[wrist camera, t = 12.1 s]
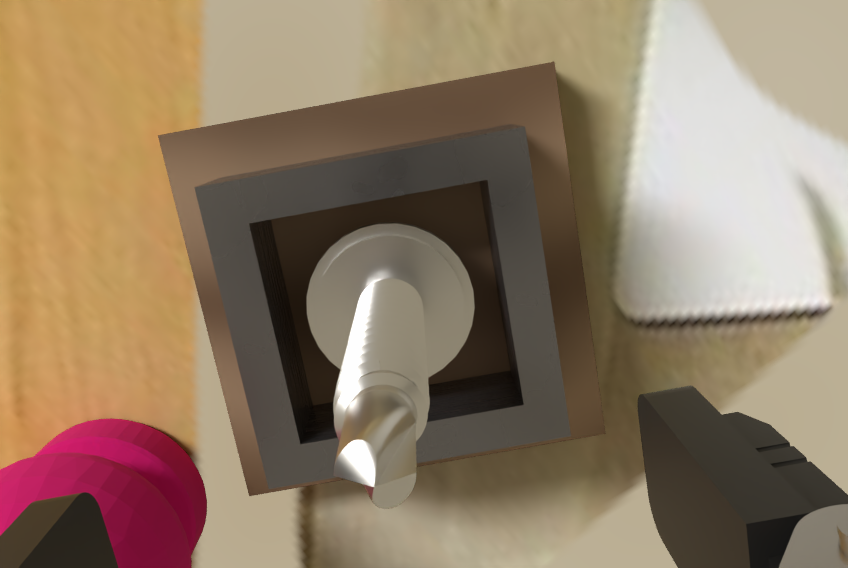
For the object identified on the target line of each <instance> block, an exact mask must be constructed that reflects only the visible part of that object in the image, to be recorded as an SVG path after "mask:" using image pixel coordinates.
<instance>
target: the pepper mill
mask: <svg viewBox="0 0 848 568" xmlns="http://www.w3.org/2000/svg"><path fill="white" fill-rule="evenodd" d="M83 492H87V493H90V494H91V495H92V496H93V497H94V498H95V499H96V501H97V502H98V504H99V507H100V510H101V513H102V516H103V519H104V522H105V526H106V529H107V532H108V535H109V539H110V542H111V545H112V548H113V551H114V555H115V558H116V561H117V564H118V568H191V555H192V552H193V550H194V548H195V546H196V544H197V542H198V540H199V538H200V536H201V533H202V531H203V528H204V524H205V519H206V514H207V513H206V512H207V499H206V493H205V487H204V484H203V480H202V478H201V476H200V474H199V471H198V469H197V468H196V466H195V464H194V463H193V461H192V460H191V458H190V457H189V456H188V454H187V453H186V452H185V451H184V450H183V449H182V448H181V447H180V446H179V445H178V444H177V443H176V442H174V441H173V440H172V439H171V438H169V437H168V436H167V435H165V434H163V433H162V432H160V431H158V430H156V429H154V428H151V427H149V426H147V425H144V424H141V423H137V422H133V421H129V420H123V419H98V420H92V421H87V422H84V423H81V424H78V425H75V426H73V427H71V428H69V429H67V430H66V431H64V432H62V433H61V434H59V435H57V436H56V437H55V438H54V439H52V440H51V441H50V442H49V443H48V444H47V445H46V446H45V447H43V448H42V449H41V450H40V451H39V452H38V453H37V454H36V455H35V456H34V457H31V458H27V459H23V460H20V461H17V462H15V463H13V464H11V465H9V466H7V467H5V468H3V469H1V470H0V536H1V535H2V533H3V532H4V531H5V530H6V529H7V528H8V527H9V526H10V525H11V524H12V523H13V522H14V520H15V519H16V518H17V517H18V516H19V515H20V514H21V513H22V512H23V511H24V510H25V509H26V508H27V506H28V505H30V504H31V503H32V502H34V501H38V500H44V499H50V498H55V497H61V496H66V495H72V494H78V493H83Z"/></svg>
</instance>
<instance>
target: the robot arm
mask: <svg viewBox="0 0 848 568" xmlns="http://www.w3.org/2000/svg"><path fill="white" fill-rule="evenodd" d="M638 416H639V424H640V432H641V441H642V449H643V457H644V465H645V473H646V481H647V488H648V496H649V502H650V506H651V511H652V514H653V518H654V521H655V524H656V527H657V530H658V533H659V535H660V537H661V539H662V541H663V543H664V544H665V546H666V548H667V550H668V551H669V553H670V555H671V556H672V558H673V560H674V562H675V563H676V565H677V567H678V568H848V495H847V494H846V493H845V492H844V491H843V490H842V489H841V488H839V487H838V486H837V485H836V484H835V483H834V482H833V481H832V480H831V479H829V478H828V477H827V476H826V475H825V474H824V473H823V472H822V471H821V470H819V469H818V468H817V467H816V466H815V465H814V464H813V463H812V462H807V459H806V457H805V456H804V455H803V454H802V453H801V452H799V451H798V450H797V449H796V448H795V447H794V446H790V443H789V442H788V441H787V440H786V439H785V438H784V437H783V436H782V435H781V434H779V433H778V432H777V431H776V430H775V429H774V428H773V427H772V426H771V425H769V424H767V423H764V422H762V421H759V420H757V419H754V418H752V417H749V416H747V415H744V414H742V413H739V412H735V413H729V414H723V415H721V414H720V413H719V412H718V411H717V410H716V409H715V408H714V407H713V406H712V405H711V404H710V403H709V402H708V401H707V400H706V399H705V398H704V397H703V396H702V395H701V394H700V393H699V392H698V391H697V390H696V388H694V387H693V386H686V387H681V388H675V389H669V390H664V391H658V392H652V393H647V394H641V395H640V396H639V398H638ZM0 568H118V564H117V561H116V558H115V555H114V551H113V548H112V545H111V542H110V539H109V535H108V532H107V529H106V526H105V522H104V519H103V516H102V513H101V510H100V507H99V504H98V502H97V501H96V499H95V498H94V497H93V496H92V495H91V494H90V493H87V492H83V493H78V494H72V495H66V496H61V497H55V498H50V499H44V500H38V501H34V502H32V503H31V504H30V505H28V506H27V508H26V509H25V510H24V511H23V512H22V513H21V514H20V515H19V516H18V517H17V518H16V519H15V520H14V522H13V523H12V524H11V525H10V526H9V527H8V528H7V529H6V530H5V531H4V532H3V533H2V535H1V536H0Z"/></svg>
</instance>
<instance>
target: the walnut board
mask: <svg viewBox="0 0 848 568" xmlns="http://www.w3.org/2000/svg"><path fill="white" fill-rule="evenodd" d="M508 124H514V125H519V126H525V129H526V136H527V143H528V149H529V156H530V163H531V170H532V176H533V183H534V190H535V196H536V203H537V210H538V217H539V223H540V230H541V237H542V244H543V250H544V257H545V264H546V271H547V277H548V284H549V291H550V297H551V304H552V311H553V318H554V324H555V331H556V338H557V345H558V351H559V358H560V365H561V372H562V378H563V385H564V392H565V398H566V405H567V412H568V419H569V425H570V432H571V436H570V437H564V438H558V439H553V440H547V441H541V442H535V443H530V444H524V445H518V446H513V447H507V448H501V449H496V450H490V451H484V452H478V453H473V454H467V455H461V456H456V457H450V458H444V459H439V460H433V461H427V462H421V463H416V467H418V466H423V465H429V464H435V463H441V462H446V461H452V460H458V459H463V458H469V457H475V456H480V455H486V454H492V453H498V452H503V451H509V450H515V449H520V448H526V447H532V446H537V445H543V444H549V443H555V442H560V441H566V440H572V439H577V438H583V437H589V436H595V435H600V434H605V427H604V419H603V412H602V405H601V398H600V390H599V383H598V376H597V368H596V361H595V354H594V347H593V339H592V332H591V325H590V318H589V310H588V303H587V296H586V289H585V281H584V274H583V267H582V260H581V252H580V245H579V238H578V231H577V223H576V216H575V209H574V202H573V194H572V187H571V180H570V172H569V165H568V158H567V151H566V143H565V136H564V129H563V122H562V114H561V107H560V100H559V93H558V85H557V78H556V71H555V64H554V62H551V63H545V64H540V65H534V66H529V67H524V68H518V69H513V70H508V71H502V72H497V73H491V74H486V75H481V76H475V77H470V78H465V79H459V80H454V81H448V82H443V83H438V84H432V85H427V86H422V87H416V88H411V89H405V90H400V91H395V92H389V93H384V94H379V95H373V96H368V97H362V98H357V99H352V100H346V101H341V102H336V103H331V104H325V105H319V106H314V107H309V108H303V109H298V110H293V111H287V112H282V113H276V114H271V115H266V116H261V117H255V118H250V119H244V120H239V121H234V122H229V123H223V124H217V125H212V126H207V127H201V128H196V129H190V130H185V131H180V132H174V133H169V134H164V135H158V138H159V141H160V145H161V149H162V153H163V157H164V161H165V165H166V169H167V173H168V177H169V181H170V185H171V189H172V193H173V197H174V201H175V205H176V209H177V212H178V216H179V220H180V224H181V228H182V232H183V236H184V240H185V244H186V248H187V252H188V256H189V260H190V264H191V268H192V272H193V276H194V280H195V284H196V287H197V291H198V295H199V299H200V303H201V307H202V311H203V315H204V319H205V323H206V327H207V331H208V335H209V339H210V343H211V346H212V351H213V355H214V359H215V362H216V366H217V370H218V374H219V378H220V382H221V386H222V390H223V394H224V398H225V402H226V406H227V410H228V414H229V418H230V422H231V425H232V429H233V434H234V437H235V441H236V445H237V449H238V453H239V457H240V461H241V465H242V469H243V473H244V477H245V481H246V485H247V489H248V493H249V496H252V495H258V494H264V493H269V492H275V491H281V490H287V489H292V488H298V487H304V486H309V485H315V484H321V483H326V482H332V481H338V480H344V479H343V478H340V477H336V478H330V479H325V480H319V481H313V482H307V483H302V484H296V485H290V486H285V487H279V488H273V489H269V488H268V484H267V480H266V476H265V472H264V468H263V464H262V460H261V456H260V452H259V448H258V444H257V440H256V436H255V432H254V427H253V423H252V419H251V415H250V411H249V407H248V403H247V399H246V395H245V391H244V387H243V383H242V379H241V375H240V371H239V367H238V363H237V359H236V354H235V350H234V346H233V342H232V338H231V334H230V330H229V326H228V322H227V318H226V314H225V310H224V306H223V302H222V298H221V294H220V290H219V286H218V282H217V277H216V273H215V269H214V265H213V261H212V257H211V253H210V249H209V245H208V241H207V237H206V233H205V229H204V225H203V221H202V217H201V213H200V209H199V204H198V200H197V196H196V192H195V188H194V187H197V186H199V185H202V184H205V183H207V182H210V181H213V180H215V179H218V178H221V177H226V176H231V175H237V174H242V173H248V172H253V171H259V170H264V169H269V168H275V167H280V166H286V165H291V164H296V163H302V162H307V161H313V160H318V159H324V158H329V157H334V156H340V155H345V154H351V153H356V152H362V151H367V150H372V149H378V148H383V147H389V146H394V145H399V144H405V143H410V142H416V141H421V140H427V139H432V138H437V137H443V136H448V135H454V134H459V133H464V132H470V131H475V130H481V129H486V128H492V127H497V126H502V125H508ZM271 222H272V227H273V231H274V236H275V240H276V244H277V249H278V253H279V258H280V262H281V266H282V271H283V275H284V280H285V284H286V289H287V293H288V297H289V302H290V306H291V311H292V315H293V319H294V324H295V328H296V333H297V337H298V341H299V346H300V350H301V355H302V359H303V364H304V368H305V372H306V377H307V381H308V386H309V390H310V394H311V399H312V403H313V405H318V404H324V403H329V402H334V396H335V391H336V385H337V382H338V378H339V373H340V371H341V370H340V369H339V368H338V367H337V366H335V365H334V364H333V363H332V362H330V361H329V359H328V358H327V357H326V356H325V354H324V353H323V352H322V351H321V349H320V348H319V347H318V345H317V343H316V341H315V339H314V337H313V334H312V332H311V329H310V325H309V321H308V317H307V292H308V288H309V283H310V279H311V277H312V274H313V272H314V270H315V268H316V266H317V264H318V262H319V260H320V259H321V258H322V256H323V255H324V254H325V253H326V251H327V250H328V249H329V247H330V246H332V245H333V244H334V243H335V242H336V241H338V240H339V239H340V238H341V237H342V236H344V235H346V234H347V233H349V232H351V231H353V230H355V229H357V228H359V227H362V226H366V225H370V224H374V223H378V222H400V223H406V224H411V225H416V226H418V227H420V228H423V229H425V230H428V231H430V232H432V233H433V234H435V235H436V236H438V237H439V238H441V239H442V240H443V241H445V242H446V243H447V244H448V245H449V246H450V247H451V248H452V249H453V250H454V251H455V253H456V254H457V255H458V256H459V258H460V259H461V261H462V263H463V265H464V266H465V268H466V270H467V272H468V275H469V278H470V281H471V285H472V288H473V293H474V306H475V309H474V316H473V322H472V327H471V329H470V332H469V334H468V337H467V340H466V342H465V343H464V345H463V346H462V348H461V349H460V351H459V352H458V354H457V355H456V357H455V358H454V359H453V360H452V361H450V362H449V363H448V364H447V365H446V366H445V367H444V368H443V369H442V370H440V371H438V372H437V373H435V374H433V375H432V376H430V377H429V378H428V385H431V384H436V383H442V382H447V381H453V380H459V379H464V378H470V377H476V376H481V375H487V374H493V373H498V372H504V371H509V370H510V364H509V358H508V352H507V346H506V340H505V334H504V328H503V322H502V316H501V310H500V303H499V297H498V291H497V285H496V279H495V273H494V267H493V261H492V255H491V249H490V242H489V236H488V230H487V224H486V218H485V212H484V206H483V200H482V194H481V188H480V181H478V182H473V183H467V184H462V185H456V186H451V187H445V188H440V189H434V190H429V191H423V192H418V193H413V194H407V195H402V196H396V197H391V198H385V199H380V200H374V201H369V202H363V203H358V204H352V205H347V206H342V207H336V208H331V209H325V210H320V211H314V212H309V213H303V214H298V215H292V216H287V217H281V218H276V219H271Z"/></svg>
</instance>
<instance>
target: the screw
mask: <svg viewBox="0 0 848 568" xmlns="http://www.w3.org/2000/svg"><path fill="white" fill-rule="evenodd" d="M474 309H475V306H474V293H473V288H472V285H471V281H470V278H469V275H468V272H467V270H466V268H465V266H464V265H463V263H462V261H461V259H460V258H459V256H458V255H457V254H456V253H455V251H454V250H453V249H452V248H451V247H450V246H449V245H448V244H447V243H446V242H445V241H443V240H442V239H441V238H439V237H438V236H436V235H435V234H433V233H432V232H430V231H428V230H425V229H423V228H420V227H418V226H416V225H411V224H406V223H400V222H378V223H374V224H370V225H366V226H362V227H359V228H357V229H355V230H353V231H351V232H349V233H347V234H346V235H344V236H342V237H341V238H340V239H339V240H338V241H336V242H335V243H334V244H333V245H332V246H330V247H329V249H328V250H327V251H326V253H325V254H324V255H323V256H322V258H321V259H320V260H319V262H318V264H317V266H316V268H315V270H314V272H313V274H312V277H311V279H310V283H309V288H308V292H307V317H308V321H309V325H310V329H311V332H312V334H313V337H314V339H315V341H316V343H317V345H318V347H319V348H320V349H321V351H322V352H323V353H324V354H325V356H326V357H327V358H328V359H329V361H330V362H332V363H333V364H334V365H335V366H337V367H338V368H339V369H340V370H341V371H340V373H339V378H338V382H337V385H336V391H335V396H334V402H333V413H334V427H335V431H336V434H337V437H338V439H339V446H338V451H337V455H336V460H335V465H334V476H336V477H340V478H343V479H347V480H350V481H354V482H357V483H361V484H363V485H364V488H365V489H366V491H367V493H368V495H369V497H370V498H371V500H372V502H373V503H374V504H375V505H376V506H377V507H379V508H384V509H389V508H393V507H396V506H398V505H400V504H401V503H402V502H403V501H404V500H405V499H407V498H408V496H409V495H410V493H411V492H412V490H413V488H414V485H415V482H416V473H417V467H416V441H417V440H418V439H419V438H420V436H421V435H422V433H423V431H424V429H425V427H426V424H427V419H428V411H429V405H430V397H429V385H428V378H429V377H430V376H432V375H433V374H435V373H437V372H438V371H440V370H442V369H443V368H444V367H445V366H446V365H447V364H448V363H449V362H450V361H452V360H453V359H454V358H455V357H456V355H457V354H458V352H459V351H460V349H461V348H462V346H463V345H464V343H465V342H466V340H467V337H468V334H469V332H470V329H471V327H472V322H473V316H474Z"/></svg>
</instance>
